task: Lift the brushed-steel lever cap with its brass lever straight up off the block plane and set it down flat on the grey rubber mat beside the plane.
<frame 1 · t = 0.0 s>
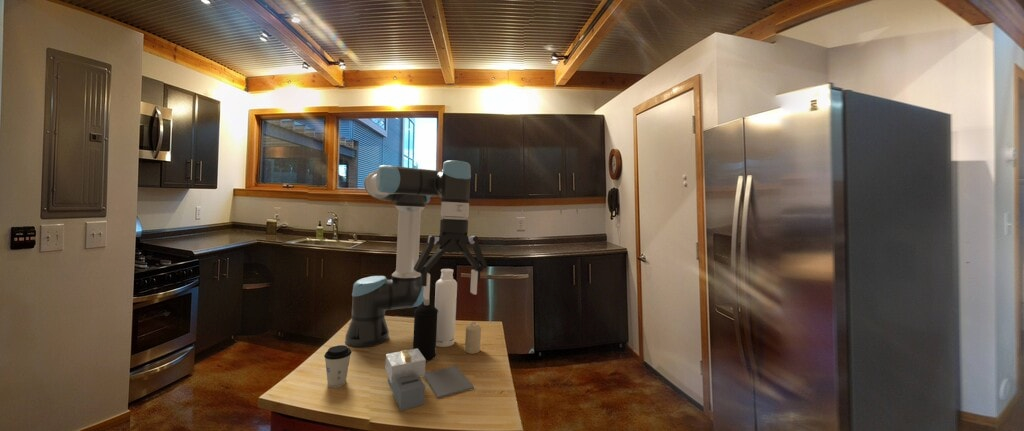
hand: (450, 295, 89), 28 cm above the kitchen island, tool pointing down, fingers open, 13 cm apart
candle: (472, 351, 119), on the kitchen island
coffee cup: (336, 383, 93), on the kitchen island
lever cap: (404, 372, 91), point 5 cm above the kitchen island, touching block plane
block plane: (404, 391, 90), on the kitchen island
rubber mat: (447, 381, 97), on the kitchen island
bottle: (443, 342, 124), on the kitchen island
aerosol can: (424, 356, 112), on the kitchen island
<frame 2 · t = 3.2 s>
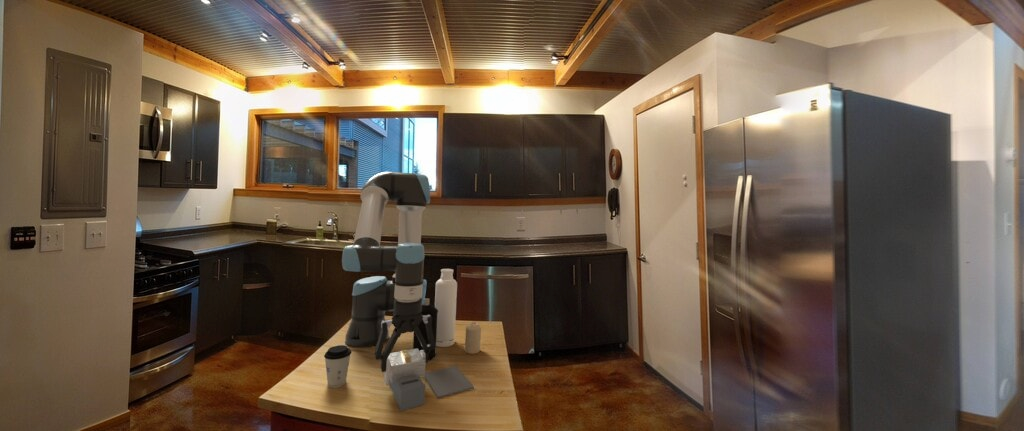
hand: (404, 377, 91), 3 cm above the kitchen island, tool pointing down, fingers closed on lever cap, 9 cm apart
lever cap: (404, 372, 91), point 5 cm above the kitchen island, touching block plane, gripper
everything else where it was.
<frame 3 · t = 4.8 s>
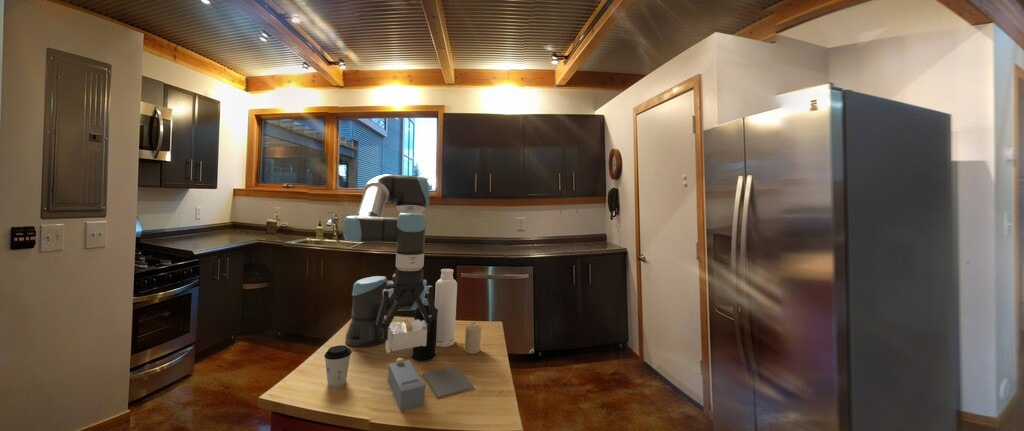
hand: (406, 347, 91), 12 cm above the kitchen island, tool pointing down, fingers closed on lever cap, 9 cm apart
lever cap: (406, 342, 91), point 14 cm above the kitchen island, touching gripper
everything else where it was.
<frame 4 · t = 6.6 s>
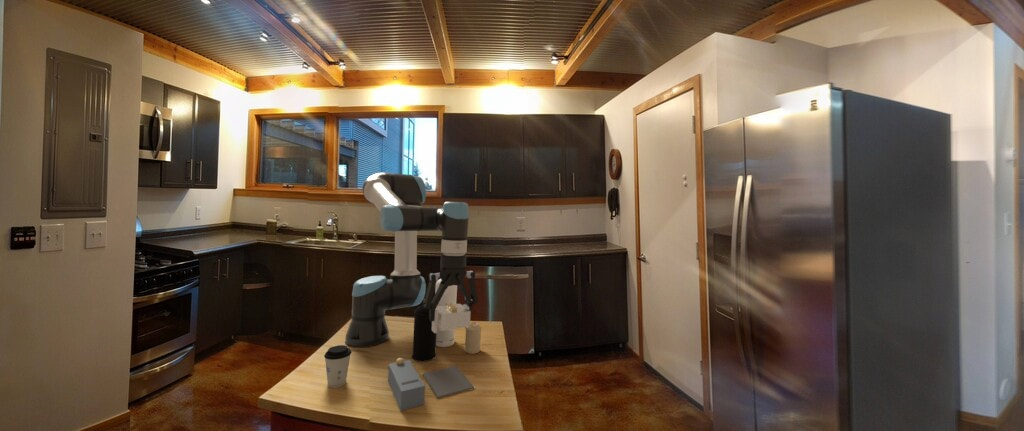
hand: (450, 328, 97), 16 cm above the kitchen island, tool pointing down, fingers closed on lever cap, 9 cm apart
lever cap: (450, 323, 97), point 17 cm above the kitchen island, touching gripper
everything else where it was.
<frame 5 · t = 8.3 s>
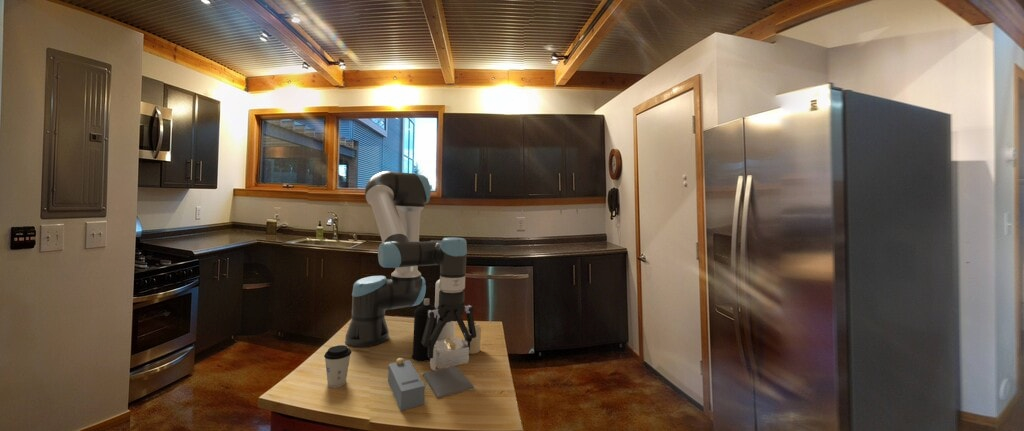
hand: (448, 364, 97), 5 cm above the kitchen island, tool pointing down, fingers closed on lever cap, 9 cm apart
lever cap: (448, 359, 97), point 7 cm above the kitchen island, touching gripper
everything else where it was.
when the fingers open (2 cm above the kitchen island, at t = 9.9 s): lever cap drops 3 cm, resting on rubber mat.
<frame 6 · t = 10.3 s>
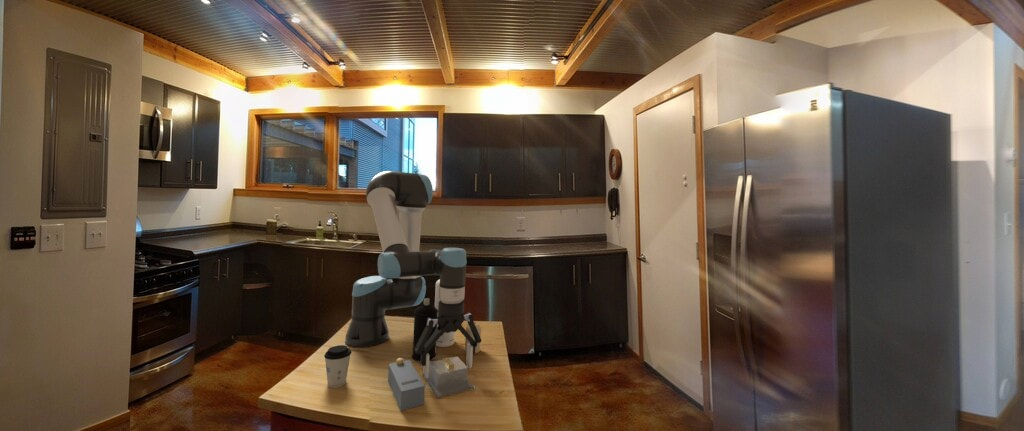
hand: (448, 370, 97), 3 cm above the kitchen island, tool pointing down, fingers open, 13 cm apart
lever cap: (447, 379, 97), resting on rubber mat
everything else where it was.
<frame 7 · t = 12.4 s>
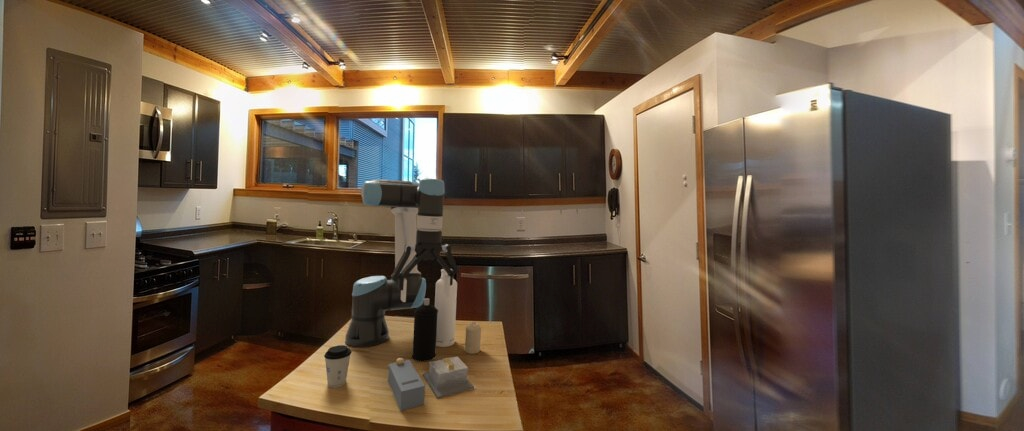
hand: (425, 298, 100), 24 cm above the kitchen island, tool pointing down, fingers open, 13 cm apart
nothing on the kitchen island moved.
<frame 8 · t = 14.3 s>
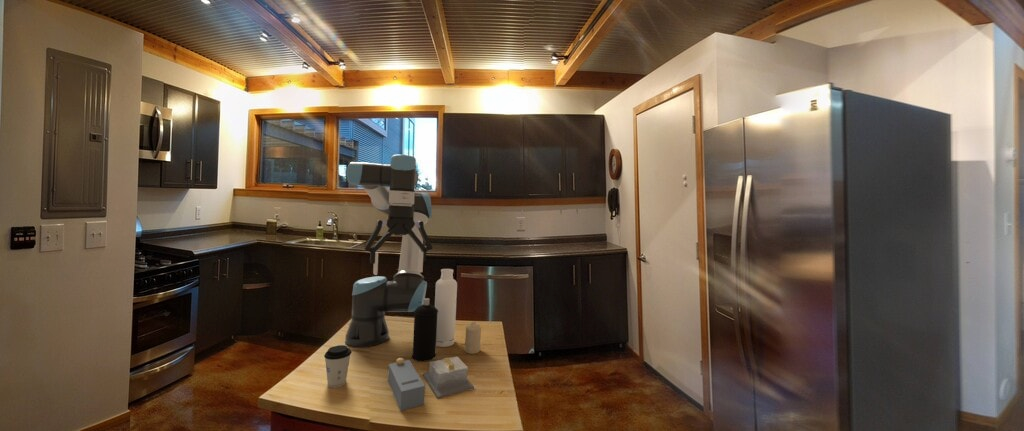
hand: (398, 272, 102), 31 cm above the kitchen island, tool pointing down, fingers open, 13 cm apart
nothing on the kitchen island moved.
at the end: lever cap inside the target area (0.0 cm from its centre), point 0.5 cm above the kitchen island; lever cap tilted 0°; the gripper is holding nothing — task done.
